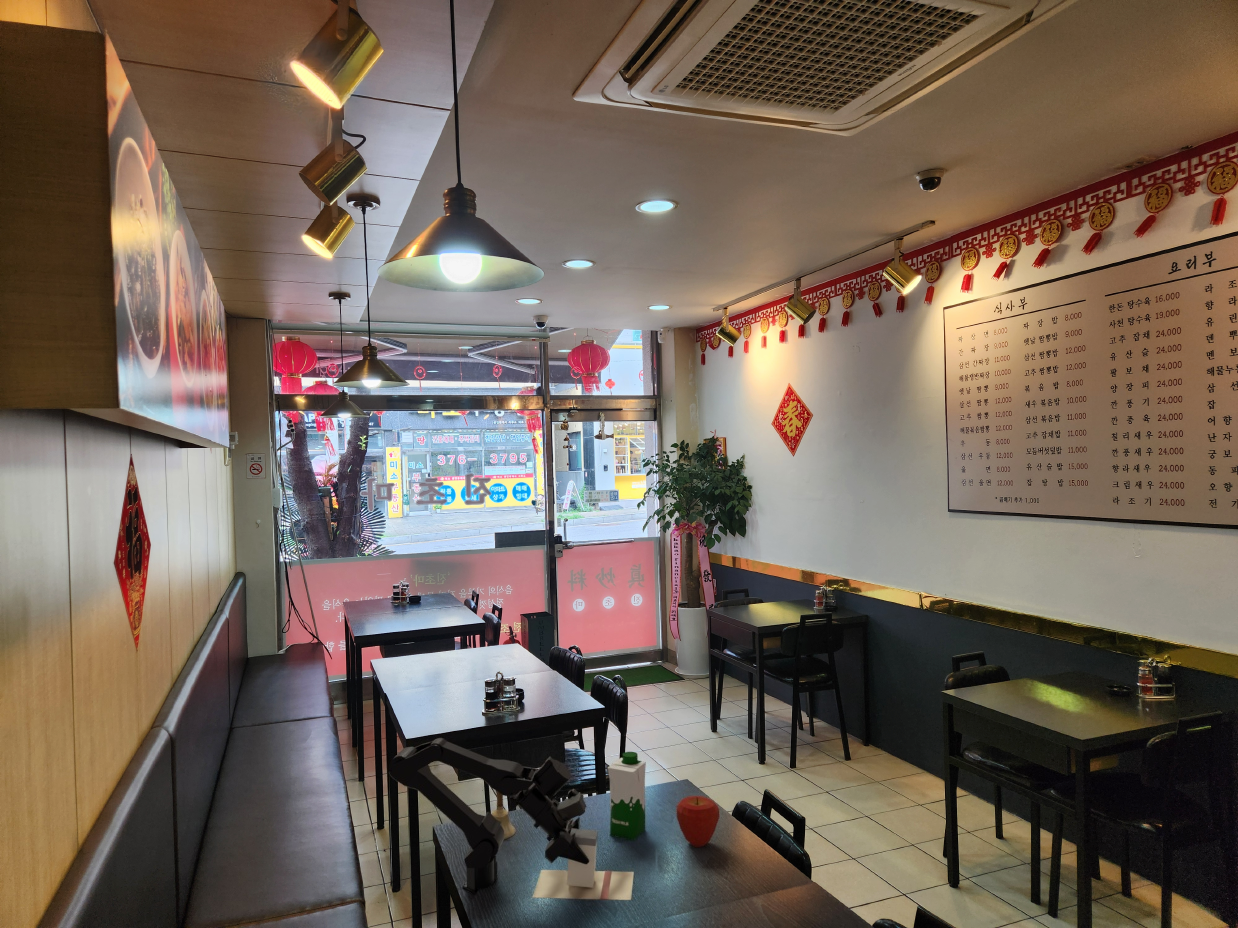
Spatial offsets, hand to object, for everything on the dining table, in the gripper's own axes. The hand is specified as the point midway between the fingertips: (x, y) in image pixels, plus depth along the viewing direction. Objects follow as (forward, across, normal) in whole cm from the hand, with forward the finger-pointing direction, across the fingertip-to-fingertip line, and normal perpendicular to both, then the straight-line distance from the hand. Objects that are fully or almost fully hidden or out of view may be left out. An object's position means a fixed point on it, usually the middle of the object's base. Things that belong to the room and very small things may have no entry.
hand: (589, 857), depth 177 cm
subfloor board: (+4, 0, +6) cm, 7 cm away
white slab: (+2, 0, +5) cm, 6 cm away
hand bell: (-14, +27, +24) cm, 39 cm away
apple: (+23, +23, -13) cm, 35 cm away
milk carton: (+10, +28, 0) cm, 30 cm away
